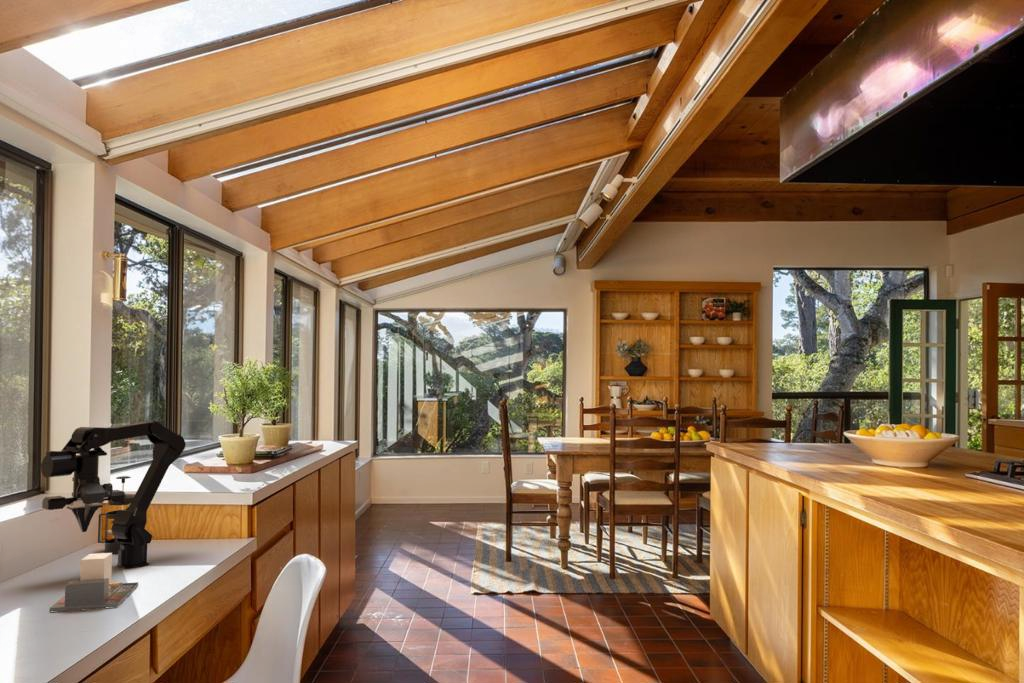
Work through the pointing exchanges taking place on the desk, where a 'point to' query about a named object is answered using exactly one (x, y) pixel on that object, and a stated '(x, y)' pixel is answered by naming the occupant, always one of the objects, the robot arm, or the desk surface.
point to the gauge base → (93, 595)
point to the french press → (112, 544)
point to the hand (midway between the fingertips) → (83, 531)
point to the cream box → (97, 567)
